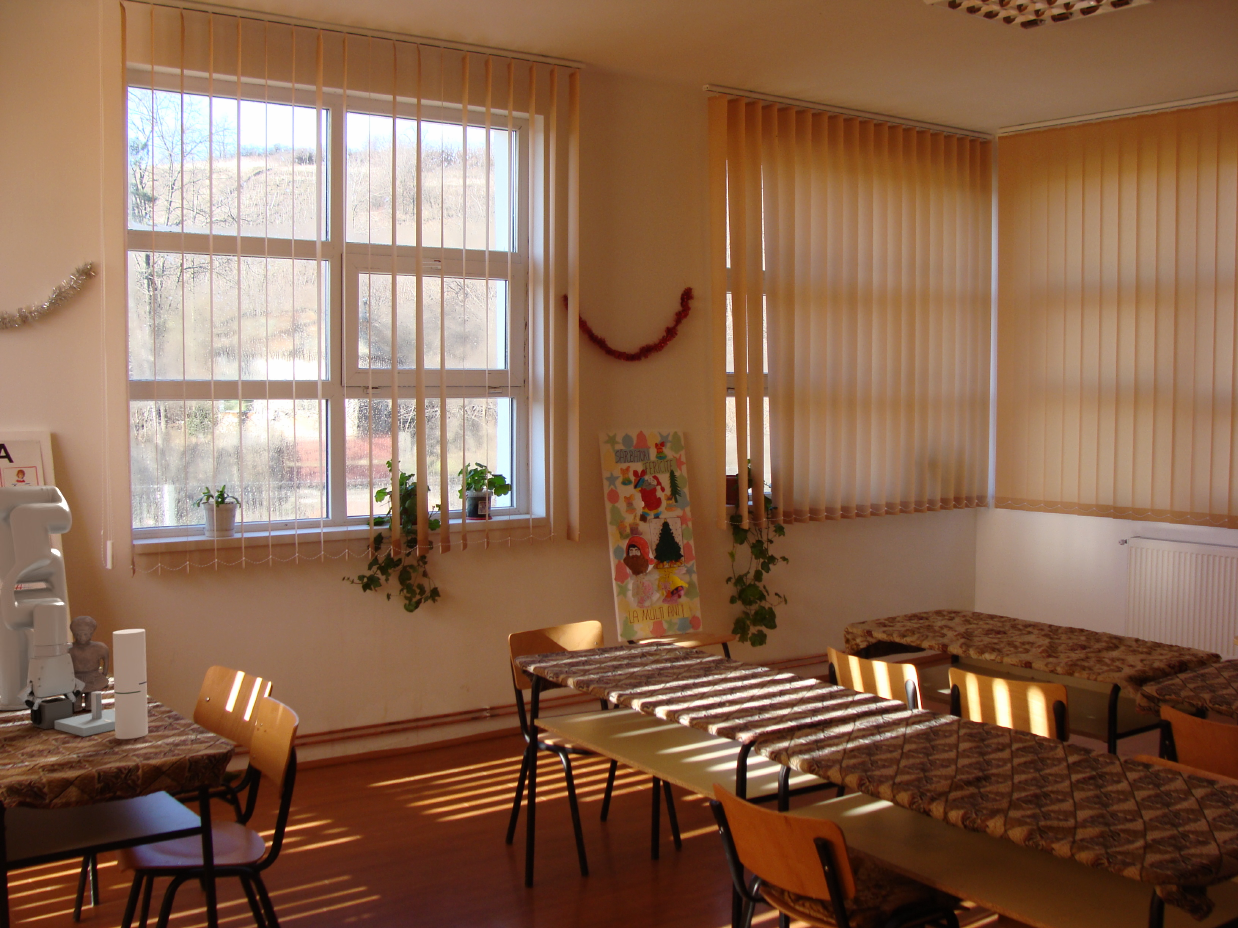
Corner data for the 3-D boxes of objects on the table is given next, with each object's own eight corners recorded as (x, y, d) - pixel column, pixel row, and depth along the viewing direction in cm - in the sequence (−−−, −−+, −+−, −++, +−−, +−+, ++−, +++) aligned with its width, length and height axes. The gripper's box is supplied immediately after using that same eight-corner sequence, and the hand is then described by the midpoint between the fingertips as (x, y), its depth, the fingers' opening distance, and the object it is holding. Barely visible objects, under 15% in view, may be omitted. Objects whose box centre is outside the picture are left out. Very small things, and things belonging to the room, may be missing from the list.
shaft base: (54, 728, 265) (53, 694, 265) (109, 716, 276) (108, 684, 276) (83, 736, 257) (82, 701, 257) (139, 723, 268) (138, 689, 268)
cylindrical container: (154, 732, 259) (152, 629, 259) (132, 739, 253) (129, 634, 252) (131, 730, 262) (128, 628, 262) (108, 737, 255) (105, 633, 255)
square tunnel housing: (33, 725, 269) (32, 701, 269) (59, 719, 274) (58, 696, 274) (46, 728, 265) (45, 704, 265) (72, 723, 270) (72, 699, 270)
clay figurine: (55, 716, 279) (53, 620, 279) (57, 708, 288) (54, 615, 287) (110, 709, 284) (108, 616, 284) (110, 702, 293) (108, 611, 293)
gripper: (77, 644, 279) (79, 711, 279) (7, 655, 265) (9, 726, 265) (92, 646, 274) (94, 715, 274) (22, 657, 260) (24, 730, 260)
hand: (52, 720), depth 270 cm, fingers open, 7 cm apart
